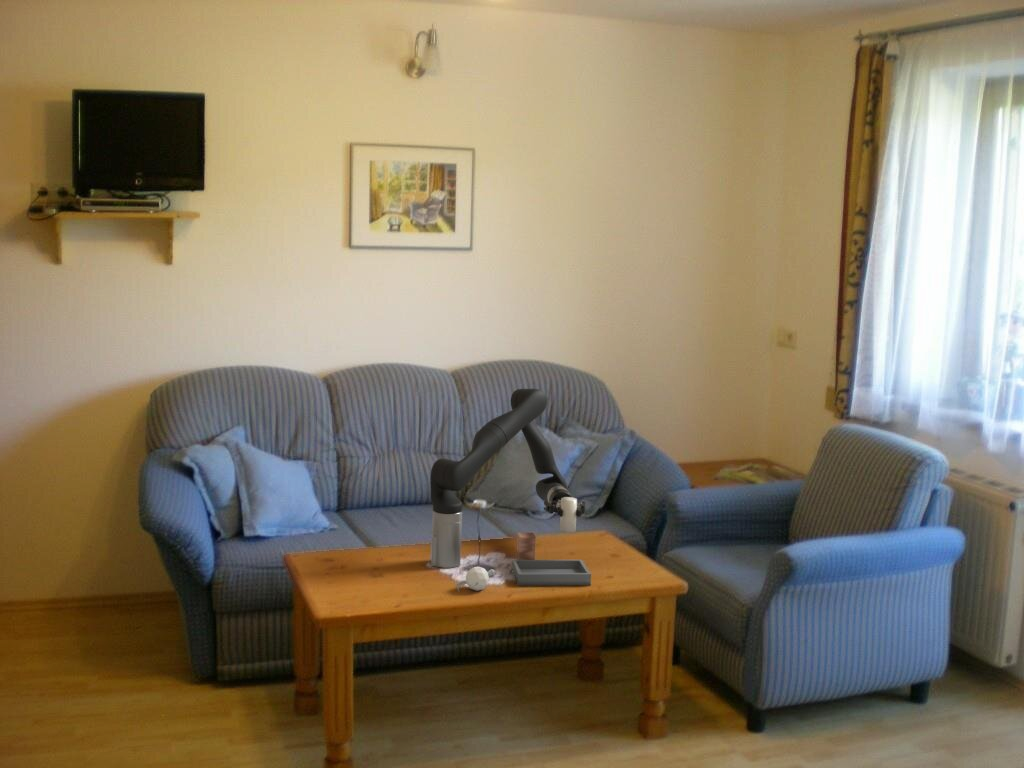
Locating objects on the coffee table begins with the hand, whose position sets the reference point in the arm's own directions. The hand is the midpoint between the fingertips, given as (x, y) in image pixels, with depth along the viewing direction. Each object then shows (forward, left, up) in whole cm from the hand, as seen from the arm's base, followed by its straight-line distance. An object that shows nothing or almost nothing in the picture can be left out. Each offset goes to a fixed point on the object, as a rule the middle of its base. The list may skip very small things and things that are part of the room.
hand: (570, 513), depth 343 cm
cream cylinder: (0, +3, -6) cm, 7 cm away
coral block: (-13, +3, -18) cm, 22 cm away
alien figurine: (-31, -19, -18) cm, 41 cm away
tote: (-7, -9, -18) cm, 21 cm away
